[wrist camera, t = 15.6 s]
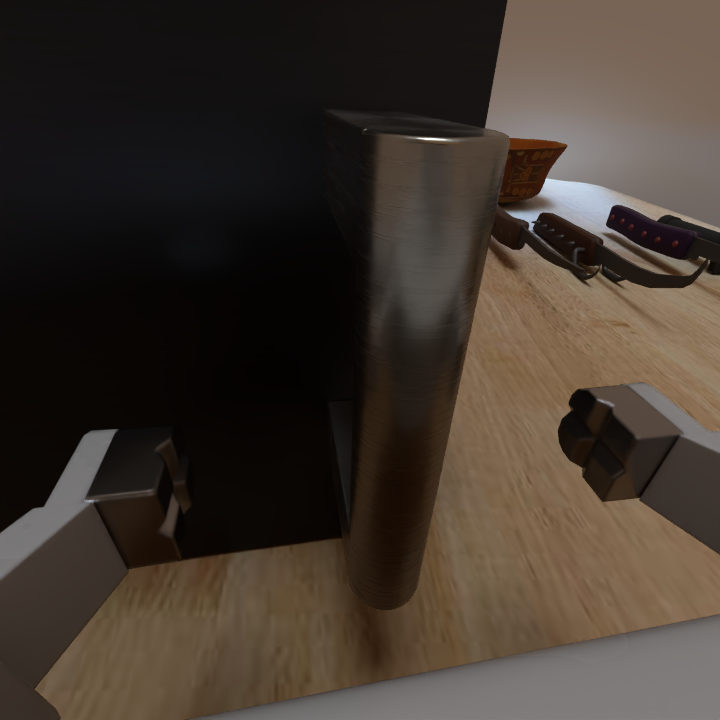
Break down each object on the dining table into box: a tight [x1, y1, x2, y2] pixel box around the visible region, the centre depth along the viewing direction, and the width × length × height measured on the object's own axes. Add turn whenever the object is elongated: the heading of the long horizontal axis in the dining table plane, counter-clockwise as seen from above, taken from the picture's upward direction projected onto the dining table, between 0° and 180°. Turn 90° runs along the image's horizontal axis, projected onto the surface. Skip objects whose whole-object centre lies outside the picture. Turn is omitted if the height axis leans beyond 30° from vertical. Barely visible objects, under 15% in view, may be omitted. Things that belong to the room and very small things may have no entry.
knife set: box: [491, 204, 720, 288], centre depth 44 cm, size 35×33×8 cm
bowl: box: [498, 138, 567, 203], centre depth 73 cm, size 21×21×10 cm
